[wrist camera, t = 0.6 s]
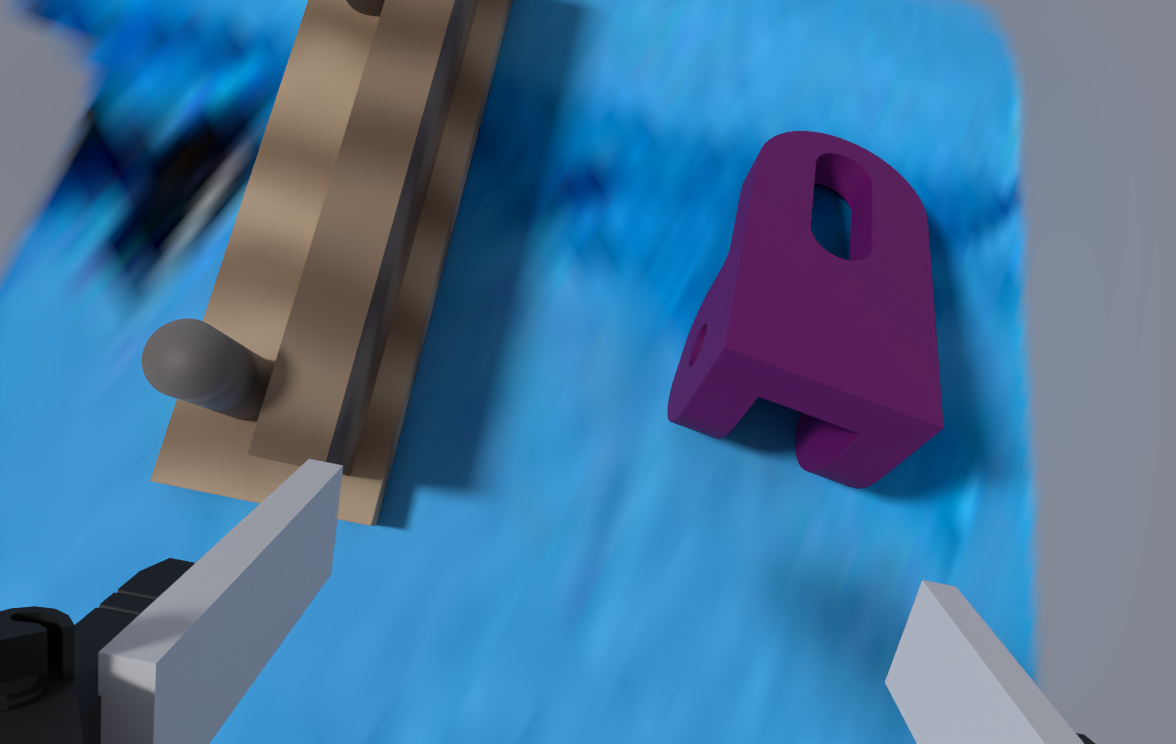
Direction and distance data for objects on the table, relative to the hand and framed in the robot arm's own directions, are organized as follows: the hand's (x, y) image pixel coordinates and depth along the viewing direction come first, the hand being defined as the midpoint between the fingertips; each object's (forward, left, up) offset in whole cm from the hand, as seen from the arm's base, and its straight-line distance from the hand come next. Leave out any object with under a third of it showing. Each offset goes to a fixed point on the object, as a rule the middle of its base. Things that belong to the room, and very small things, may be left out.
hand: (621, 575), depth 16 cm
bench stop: (+15, +14, -20) cm, 28 cm away
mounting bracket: (+15, -10, -20) cm, 27 cm away
